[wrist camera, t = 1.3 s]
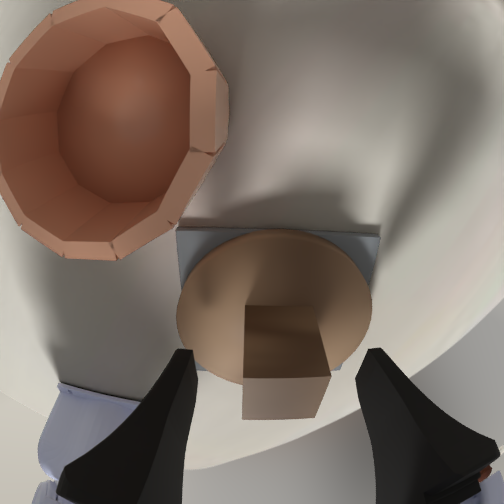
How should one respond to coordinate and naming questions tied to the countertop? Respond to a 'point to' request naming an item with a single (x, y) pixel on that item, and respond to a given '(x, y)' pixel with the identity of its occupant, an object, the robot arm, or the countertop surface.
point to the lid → (275, 318)
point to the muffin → (485, 473)
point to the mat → (206, 239)
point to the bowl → (108, 126)
